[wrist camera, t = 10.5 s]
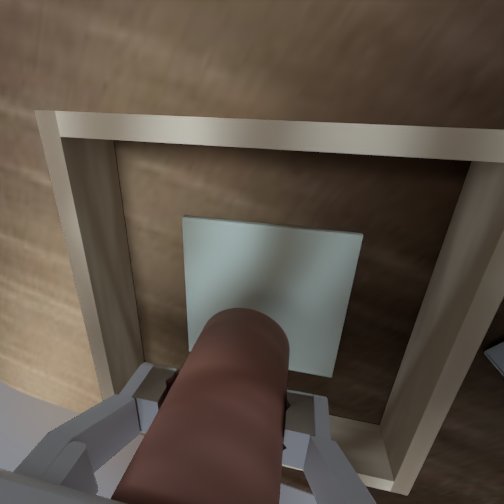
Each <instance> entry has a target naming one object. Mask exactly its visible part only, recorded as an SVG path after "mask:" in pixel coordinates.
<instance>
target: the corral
mask: <svg viewBox="0 0 504 504" xmlns="http://www.w3.org/2000/svg"><path fill="white" fill-rule="evenodd" d="M34 111H35V115H36V119H37V124H38V128H39V132H40V136H41V141H42V145H43V149H44V153H45V158H46V162H47V166H48V170H49V175H50V179H51V183H52V187H53V191H54V196H55V200H56V204H57V208H58V213H59V217H60V221H61V225H62V230H63V234H64V238H65V242H66V247H67V251H68V255H69V259H70V264H71V268H72V272H73V276H74V280H75V285H76V289H77V293H78V297H79V302H80V306H81V310H82V314H83V319H84V323H85V327H86V331H87V336H88V340H89V344H90V348H91V353H92V357H93V361H94V365H95V369H96V374H97V378H98V382H99V386H100V391H101V395H102V399H103V401H104V400H106V399H108V398H109V397H111V396H113V395H114V394H117V395H119V393H120V392H121V391H122V389H123V388H124V387H125V385H126V384H127V383H128V381H129V380H130V379H131V377H132V376H133V375H134V373H135V372H136V371H137V369H138V368H139V366H140V365H141V364H143V363H144V356H143V349H142V342H141V335H140V328H139V321H138V313H137V306H136V299H135V292H134V285H133V278H132V271H131V263H130V256H129V249H128V242H127V235H126V228H125V221H124V213H123V206H122V199H121V192H120V185H119V178H118V171H117V163H116V156H115V149H114V142H113V140H123V141H140V142H157V143H175V144H192V145H209V146H226V147H243V148H260V149H277V150H295V151H312V152H329V153H346V154H363V155H380V156H397V157H415V158H432V159H449V160H466V161H471V164H470V167H469V170H468V173H467V176H466V179H465V181H464V184H463V187H462V190H461V193H460V196H459V199H458V202H457V204H456V207H455V210H454V213H453V216H452V219H451V222H450V225H449V227H448V230H447V233H446V236H445V239H444V242H443V245H442V247H441V250H440V253H439V256H438V259H437V262H436V265H435V268H434V270H433V273H432V276H431V279H430V282H429V285H428V288H427V291H426V293H425V296H424V299H423V302H422V305H421V308H420V311H419V313H418V316H417V319H416V322H415V325H414V328H413V331H412V334H411V336H410V339H409V342H408V345H407V348H406V351H405V354H404V357H403V359H402V362H401V365H400V368H399V371H398V374H397V377H396V380H395V382H394V385H393V388H392V391H391V394H390V397H389V400H388V402H387V405H386V408H385V411H384V414H383V417H382V420H381V423H380V425H377V424H372V423H367V422H362V421H357V420H352V419H347V418H342V417H337V416H332V415H329V419H330V429H331V440H333V441H336V442H337V444H338V445H339V447H340V448H341V450H342V452H343V453H344V455H345V456H346V458H347V459H348V461H349V462H350V464H351V465H352V467H353V468H354V470H355V471H356V473H357V474H358V476H359V477H360V479H361V480H362V482H363V483H364V485H365V486H369V487H374V488H378V489H382V490H386V491H391V492H395V493H399V494H403V495H408V494H409V492H410V490H411V488H412V486H413V484H414V481H415V479H416V477H417V475H418V473H419V471H420V469H421V467H422V465H423V463H424V461H425V459H426V457H427V455H428V452H429V450H430V448H431V446H432V444H433V442H434V440H435V438H436V436H437V434H438V432H439V430H440V428H441V426H442V423H443V421H444V419H445V417H446V415H447V413H448V411H449V409H450V407H451V405H452V403H453V401H454V399H455V396H456V394H457V392H458V390H459V388H460V386H461V384H462V382H463V380H464V378H465V376H466V374H467V372H468V370H469V367H470V365H471V363H472V361H473V359H474V357H475V355H476V353H477V351H478V349H479V347H480V345H481V343H482V340H483V338H484V336H485V334H486V332H487V330H488V328H489V326H490V324H491V322H492V320H493V318H494V316H495V314H496V311H497V309H498V307H499V305H500V303H501V301H502V299H503V297H504V130H497V129H474V128H450V127H426V126H402V125H378V124H354V123H330V122H307V121H283V120H259V119H235V118H211V117H187V116H163V115H139V114H116V113H92V112H68V111H44V110H34ZM182 230H183V248H184V267H185V285H186V304H187V322H188V341H189V352H191V350H192V348H193V346H194V344H195V343H196V341H197V339H198V337H199V335H200V333H201V332H202V330H203V328H204V326H205V324H206V323H207V321H208V320H209V319H210V318H211V317H212V316H213V315H215V314H216V313H218V312H220V311H223V310H226V309H230V308H248V309H253V310H256V311H259V312H261V313H263V314H265V315H267V316H269V317H270V318H272V319H273V320H274V321H275V322H277V323H278V324H279V325H280V327H281V328H282V329H283V331H284V332H285V334H286V336H287V338H288V341H289V347H290V353H289V368H288V370H292V371H297V372H303V373H309V374H314V375H320V376H325V377H331V378H332V374H333V370H334V365H335V361H336V356H337V352H338V347H339V343H340V338H341V334H342V329H343V325H344V320H345V316H346V311H347V307H348V302H349V298H350V293H351V289H352V284H353V280H354V275H355V271H356V266H357V262H358V257H359V253H360V248H361V244H362V239H363V234H362V233H357V232H347V231H337V230H327V229H317V228H307V227H297V226H287V225H277V224H267V223H257V222H247V221H237V220H227V219H218V218H208V217H198V216H188V215H184V216H183V217H182ZM140 433H143V432H140ZM145 434H146V433H145ZM282 466H285V467H289V468H293V469H297V470H302V471H303V469H299V468H295V467H291V466H287V465H284V464H282Z"/></svg>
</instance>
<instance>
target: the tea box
mask: <svg viewBox="0 0 504 504" xmlns="http://www.w3.org/2000/svg"><path fill="white" fill-rule="evenodd" d="M484 354H485V355H486V356H487V358H488V359H489V360H490V361H491V362H492V364H493V365H494V366H495V367H496V368H497V370H498V371H499V372H500V373H501V374H502V375H503V376H504V342H502V343H500V344H498V345H496V346H494V347H492V348H490V349H488V350H486V351H485V352H484Z"/></svg>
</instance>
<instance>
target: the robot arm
mask: <svg viewBox="0 0 504 504" xmlns="http://www.w3.org/2000/svg"><path fill="white" fill-rule="evenodd" d="M179 372H180V370H179V369H175V368H170V367H166V366H161V365H157V364H152V363H147V362H144V363H143V364H141V365H140V366H139V368H138V369H137V371H136V372H135V373H134V375H133V376H132V377H131V379H130V380H129V381H128V383H127V384H126V385H125V387H124V388H123V389H122V391H121V392H120V393H119V395H117V394H114V395H113V396H111V397H109V398H108V399H106V400H104V401H102V402H101V403H99V404H97V405H95V406H94V407H92V408H90V409H88V410H87V411H85V412H83V413H81V414H80V415H78V416H76V417H74V418H73V419H71V420H69V421H68V422H66V423H64V424H62V425H61V426H59V427H57V428H55V429H54V430H52V431H50V432H48V433H47V434H46V436H45V437H44V438H43V439H42V440H41V441H40V442H39V443H38V445H37V446H36V447H35V448H34V449H33V450H32V451H31V452H30V454H29V455H28V456H27V457H26V458H25V459H24V460H23V461H22V463H21V464H20V465H19V466H18V467H17V468H16V469H15V471H14V472H11V471H7V470H3V469H0V504H127V503H123V502H120V501H116V500H112V499H109V498H105V497H101V496H97V495H96V493H97V492H98V486H97V482H96V479H95V476H94V472H95V471H97V470H98V469H99V468H100V467H101V466H102V465H104V464H105V463H106V462H107V461H108V460H109V459H111V458H112V457H113V456H114V455H115V454H117V453H118V452H119V451H120V450H121V449H122V448H124V447H125V446H126V445H127V444H128V443H130V442H131V441H132V440H133V439H134V438H136V437H137V436H138V435H139V434H140V432H143V433H147V431H148V429H149V427H150V425H151V424H152V422H153V420H154V418H155V416H156V414H157V413H158V411H159V409H160V407H161V405H162V403H163V401H164V400H165V398H166V396H167V394H168V392H169V390H170V389H171V387H172V385H173V383H174V381H175V379H176V378H177V376H178V374H179ZM282 464H284V465H287V466H291V467H295V468H299V469H303V471H304V474H305V476H306V478H307V481H308V483H309V485H310V488H311V490H312V492H313V494H314V497H315V499H316V501H317V504H377V503H376V502H375V500H374V499H373V497H372V496H371V494H370V493H369V491H368V490H367V488H366V487H365V485H364V483H363V482H362V480H361V479H360V477H359V476H358V474H357V473H356V471H355V470H354V468H353V467H352V465H351V464H350V462H349V461H348V459H347V458H346V456H345V455H344V453H343V452H342V450H341V448H340V447H339V445H338V444H337V442H336V441H333V440H331V429H330V419H329V408H328V399H327V397H324V396H319V395H313V394H309V393H303V392H298V391H292V390H287V394H286V405H285V421H284V434H283V454H282Z"/></svg>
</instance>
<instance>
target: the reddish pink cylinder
mask: <svg viewBox="0 0 504 504" xmlns="http://www.w3.org/2000/svg"><path fill="white" fill-rule="evenodd" d="M289 353H290V347H289V341H288V338H287V336H286V334H285V332H284V331H283V329H282V328H281V327H280V325H279V324H278V323H277V322H275V321H274V320H273V319H272V318H270V317H269V316H267V315H265V314H263V313H261V312H259V311H256V310H253V309H248V308H230V309H226V310H223V311H220V312H218V313H216V314H215V315H213V316H212V317H211V318H210V319H209V320H208V321H207V323H206V324H205V326H204V328H203V330H202V332H201V333H200V335H199V337H198V339H197V341H196V343H195V344H194V346H193V348H192V350H191V352H190V354H189V356H188V357H187V359H186V361H185V363H184V365H183V367H182V368H181V370H180V372H179V374H178V376H177V378H176V379H175V381H174V383H173V385H172V387H171V389H170V390H169V392H168V394H167V396H166V398H165V400H164V401H163V403H162V405H161V407H160V409H159V411H158V413H157V414H156V416H155V418H154V420H153V422H152V424H151V425H150V427H149V429H148V431H147V433H146V435H145V436H144V438H143V440H142V442H141V444H140V446H139V448H138V449H137V451H136V453H135V455H134V457H133V459H132V460H131V462H130V464H129V466H128V468H127V470H126V472H125V473H124V475H123V477H122V479H121V481H120V482H119V484H118V486H117V488H116V490H115V492H114V494H113V495H112V497H111V499H112V500H116V501H120V502H123V503H127V504H279V497H280V483H281V469H282V454H283V434H284V421H285V405H286V394H287V382H288V368H289Z"/></svg>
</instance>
